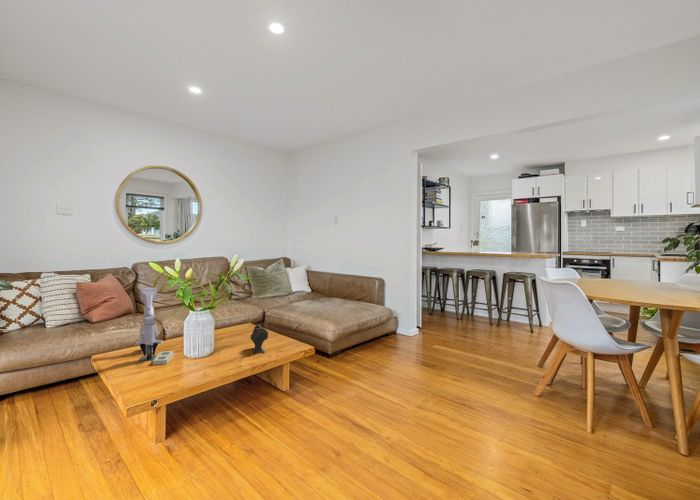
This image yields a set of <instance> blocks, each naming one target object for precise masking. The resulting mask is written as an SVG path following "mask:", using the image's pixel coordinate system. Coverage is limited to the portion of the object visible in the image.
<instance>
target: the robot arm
mask: <svg viewBox="0 0 700 500" xmlns="http://www.w3.org/2000/svg"><path fill="white" fill-rule="evenodd" d="M157 290H158V289H157V287H145V288H142V287H141V288H140V289H139V296H140V299H139V300H140V301H142V302H143V303H144V308H143V321H142V322H143V326H141V327H140V328H139V329H140V330H139V332H140V333H139V339H140V340H139V341H136V342H135V346H138V345H139V348H140V349H141V351H140V354H143V356H147V345H152V356H154V355H156V350H157V349H158V345H159V344H160V345H161V344H163V339H156V338H157V335H158V330H157V329H158V328H157V326H156V315H155V307H153V302H154V301H155V300H157V292H158V291H157Z"/></svg>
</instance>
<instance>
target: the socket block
mask: <svg viewBox="0 0 700 500" xmlns="http://www.w3.org/2000/svg"><path fill="white" fill-rule="evenodd" d="M156 355H157V356H156V357H155V359H154V360H153V361H152V366H156V365H157V366H159V365H167V364H168V363H169V362H170V360H171V359H172V357H173V356H174V350H169V351H168V350H166V351H159V353H157V354H156Z"/></svg>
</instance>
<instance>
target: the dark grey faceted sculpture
mask: <svg viewBox="0 0 700 500" xmlns="http://www.w3.org/2000/svg"><path fill="white" fill-rule="evenodd" d="M249 338H250V340H251V341H252V342H253V345H254V349H253V353H254V354H263V353H265V352H266V351H265V349H263V348H262V346H263V344H264V342H265V341H267V340H268V339H269V331H268V330H267V329H266V328H263V327H262V326H261V325H260V324H256V325H255V326H254V327H253V330H252V332H251V334H250V337H249ZM265 354H266V353H265Z"/></svg>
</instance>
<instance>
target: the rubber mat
mask: <svg viewBox="0 0 700 500" xmlns="http://www.w3.org/2000/svg"><path fill="white" fill-rule="evenodd" d="M157 355H158V354H154V355H152V359H150V360H147V355H145V356H144V355H142V356H141V357H140V358H138V360H136V363H143V362H144V363H145V362H153V360H154V359H155V357H156V356H157Z"/></svg>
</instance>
